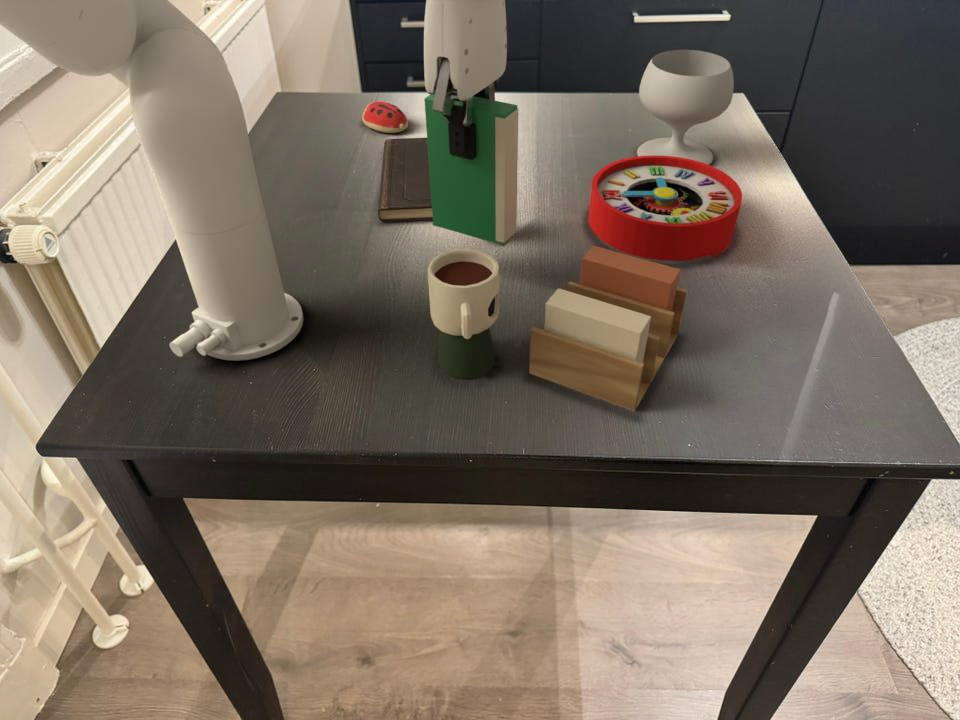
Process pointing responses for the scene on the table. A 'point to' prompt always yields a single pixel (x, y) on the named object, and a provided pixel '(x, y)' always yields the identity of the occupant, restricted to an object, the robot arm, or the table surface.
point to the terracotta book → (630, 277)
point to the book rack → (607, 353)
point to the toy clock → (664, 207)
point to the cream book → (597, 324)
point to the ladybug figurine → (384, 117)
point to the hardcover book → (405, 181)
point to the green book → (476, 173)
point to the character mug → (464, 310)
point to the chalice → (685, 98)
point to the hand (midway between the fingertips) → (471, 148)
